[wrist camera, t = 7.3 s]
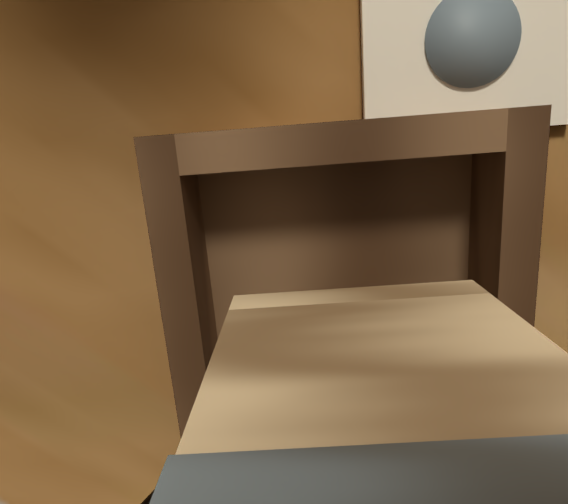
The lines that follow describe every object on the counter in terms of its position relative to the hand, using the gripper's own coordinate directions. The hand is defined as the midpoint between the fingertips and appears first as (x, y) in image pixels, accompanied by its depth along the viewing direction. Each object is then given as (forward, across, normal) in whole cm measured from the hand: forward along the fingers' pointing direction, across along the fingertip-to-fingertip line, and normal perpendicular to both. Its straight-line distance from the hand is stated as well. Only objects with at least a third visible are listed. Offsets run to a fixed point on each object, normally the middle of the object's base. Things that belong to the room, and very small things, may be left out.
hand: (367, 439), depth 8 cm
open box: (+6, 0, 0) cm, 6 cm away
